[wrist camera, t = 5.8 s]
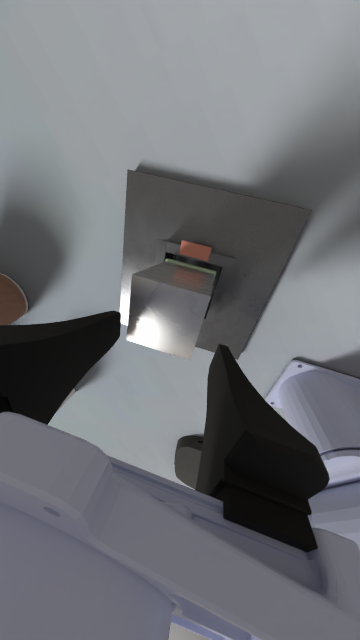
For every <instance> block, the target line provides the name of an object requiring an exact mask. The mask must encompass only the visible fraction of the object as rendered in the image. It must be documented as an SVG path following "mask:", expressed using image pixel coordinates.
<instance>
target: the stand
mask: <svg viewBox="0 0 360 640" xmlns="http://www.w3.org/2000/svg"><path fill="white" fill-rule="evenodd" d="M311 211H312V210H309V209H304V208H300V207H295V206H291V205H286V204H281V203H277V202H272V201H268V200H263V199H259V198H254V197H250V196H245V195H241V194H236V193H232V192H227V191H223V190H218V189H214V188H209V187H204V186H200V185H195V184H191V183H186V182H182V181H177V180H173V179H168V178H164V177H159V176H155V175H150V174H146V173H141V172H136V171H132V170H128V173H127V191H126V209H125V228H124V246H123V265H122V283H121V302H120V313H121V323H122V324H125V325H128V317H129V305H130V293H131V281H132V274H134V273H137V272H139V271H142V270H144V269H147V268H150V267H152V266H155V265H157V264H160V263H162V262H165V261H166V259H167V258H168V259H172V260H176V261H180V262H183V263H187V264H191V265H195V266H198V267H202V268H206V269H210V270H213V271H216V275H215V278H214V282H213V287H212V293H211V298H210V301H209V304H208V307H207V310H206V313H205V316H204V320H203V323H202V326H201V329H200V332H199V335H198V338H197V341H196V344H195V347H199V348H202V349H205V350H208V351H211V352H216V350H217V347H218V345H219V344H222V345H225V346H228V348H229V349H230V351H231V353H232V355H233V357H234V358H235V359H237V360H238V358H239V356H240V354H241V352H242V350H243V348H244V346H245V344H246V342H247V340H248V338H249V336H250V334H251V332H252V330H253V328H254V326H255V324H256V322H257V320H258V318H259V316H260V314H261V312H262V310H263V308H264V306H265V304H266V302H267V300H268V298H269V296H270V294H271V292H272V290H273V288H274V286H275V284H276V282H277V280H278V278H279V276H280V274H281V272H282V270H283V267H284V265H285V263H286V261H287V259H288V257H289V255H290V253H291V251H292V249H293V247H294V245H295V243H296V241H297V239H298V237H299V235H300V233H301V231H302V229H303V227H304V225H305V223H306V221H307V219H308V217H309V215H310V213H311Z"/></svg>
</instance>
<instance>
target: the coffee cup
mask: <svg viewBox="0 0 360 640" xmlns="http://www.w3.org/2000/svg"><path fill="white" fill-rule="evenodd" d="M27 310H28V301H27V298H26V295H25V293H24V292H23V290H22V289H21V287H20V286H19V285H18V284H17V283H16V282H15V281H14V280H13V279H11V278H10V277H8V276H6V275H4V274H1V273H0V325H8V324H9V323H11V322H13V321H15V320H17V319H18V318H20V317H21V316H23V315H24V314H26V312H27Z"/></svg>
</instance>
